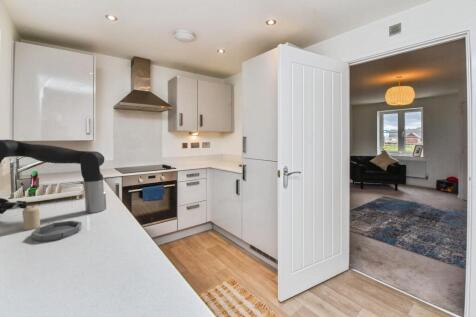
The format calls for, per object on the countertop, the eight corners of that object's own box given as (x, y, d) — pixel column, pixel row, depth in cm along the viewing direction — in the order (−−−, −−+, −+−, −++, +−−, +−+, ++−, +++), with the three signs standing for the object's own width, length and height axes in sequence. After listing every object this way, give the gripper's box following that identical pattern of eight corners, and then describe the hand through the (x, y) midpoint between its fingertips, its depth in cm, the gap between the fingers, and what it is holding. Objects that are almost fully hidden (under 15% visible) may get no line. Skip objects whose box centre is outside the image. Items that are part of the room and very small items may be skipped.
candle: (30, 230, 103) (28, 208, 102) (20, 229, 104) (18, 207, 103) (43, 226, 108) (41, 205, 107) (33, 225, 109) (32, 204, 108)
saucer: (65, 224, 110) (65, 219, 110) (89, 228, 104) (88, 223, 104) (24, 238, 95) (23, 232, 95) (49, 244, 89) (49, 237, 89)
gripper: (-26, 201, 109) (-7, 205, 103) (12, 194, 122) (31, 197, 116) (-25, 217, 109) (-5, 221, 103) (13, 208, 122) (32, 212, 117)
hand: (14, 208), depth 110 cm, fingers open, 8 cm apart
